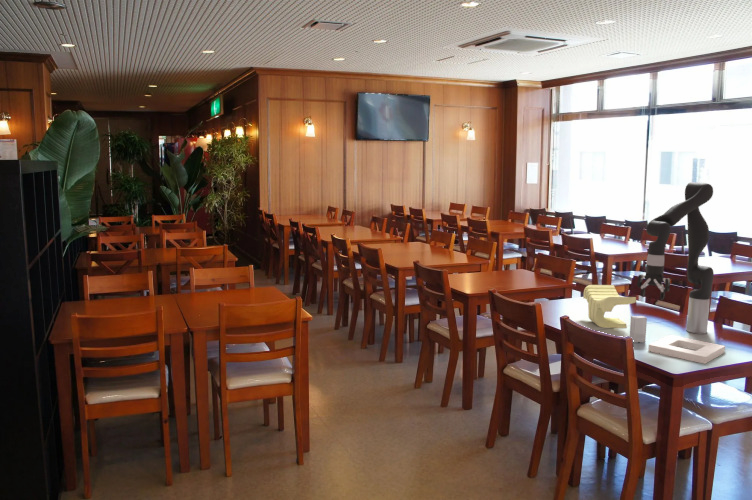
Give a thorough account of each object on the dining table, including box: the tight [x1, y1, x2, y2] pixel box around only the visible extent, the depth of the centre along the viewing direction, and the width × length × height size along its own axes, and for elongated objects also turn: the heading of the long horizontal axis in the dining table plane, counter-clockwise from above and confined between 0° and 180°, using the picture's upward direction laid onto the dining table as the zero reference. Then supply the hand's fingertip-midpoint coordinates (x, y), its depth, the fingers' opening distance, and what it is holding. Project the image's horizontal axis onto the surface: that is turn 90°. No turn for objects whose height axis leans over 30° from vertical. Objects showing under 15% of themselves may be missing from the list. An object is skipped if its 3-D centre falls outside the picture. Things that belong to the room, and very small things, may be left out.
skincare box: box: [629, 315, 648, 344], centre depth 302 cm, size 6×4×12 cm
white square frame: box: [647, 334, 726, 364], centre depth 288 cm, size 24×24×3 cm
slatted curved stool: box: [583, 284, 637, 329], centre depth 333 cm, size 30×16×18 cm, turn 0°
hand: (652, 298), depth 302 cm, fingers open, 8 cm apart
